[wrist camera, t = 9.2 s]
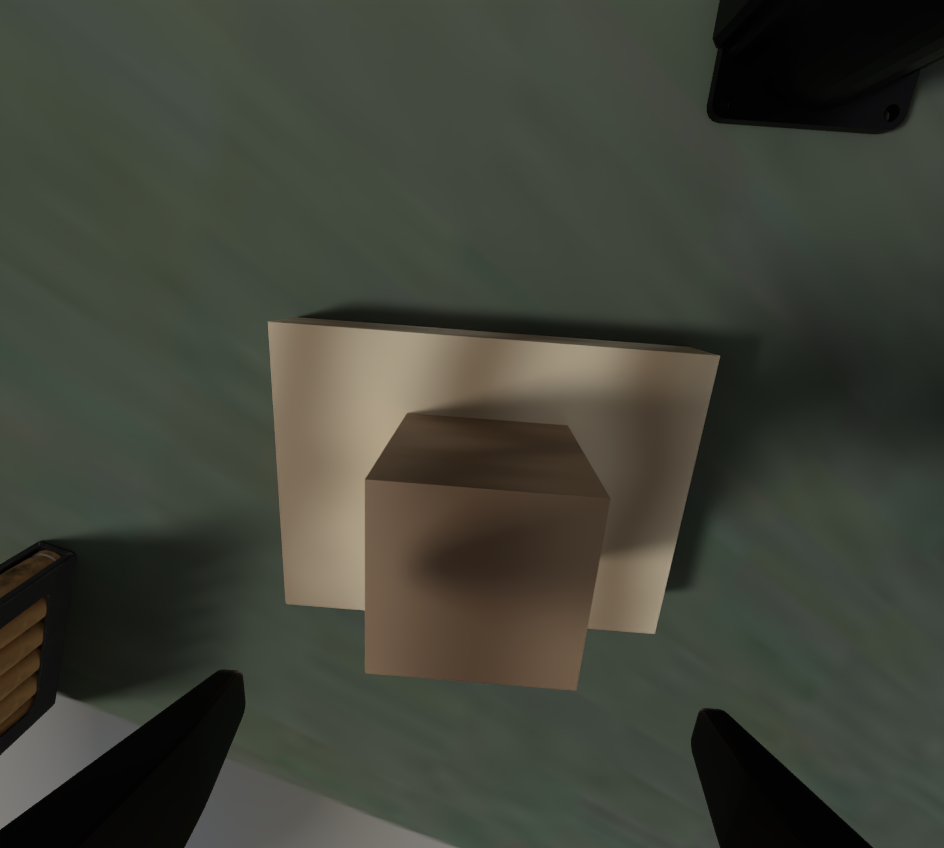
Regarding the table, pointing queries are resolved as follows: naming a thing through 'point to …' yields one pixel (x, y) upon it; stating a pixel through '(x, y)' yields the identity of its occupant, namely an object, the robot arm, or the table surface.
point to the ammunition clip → (31, 634)
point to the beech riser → (484, 397)
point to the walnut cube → (481, 552)
